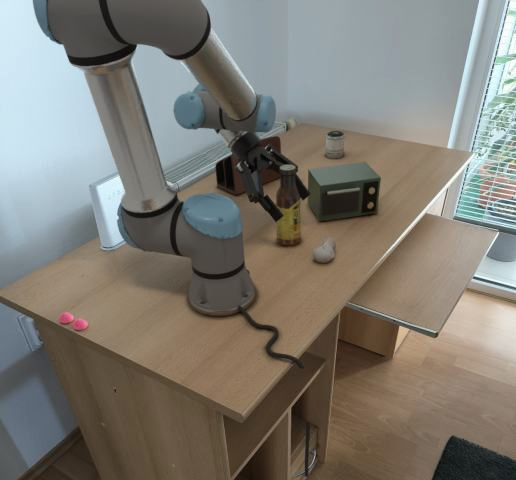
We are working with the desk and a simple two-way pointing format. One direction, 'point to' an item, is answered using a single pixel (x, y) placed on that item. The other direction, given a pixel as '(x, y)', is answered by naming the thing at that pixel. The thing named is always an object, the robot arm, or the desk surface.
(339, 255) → the desk surface
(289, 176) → the sauce bottle
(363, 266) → the desk surface
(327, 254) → the pale two-lobed sculpture
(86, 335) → the desk surface
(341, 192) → the toaster oven
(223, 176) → the letter holder
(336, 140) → the camera lens
